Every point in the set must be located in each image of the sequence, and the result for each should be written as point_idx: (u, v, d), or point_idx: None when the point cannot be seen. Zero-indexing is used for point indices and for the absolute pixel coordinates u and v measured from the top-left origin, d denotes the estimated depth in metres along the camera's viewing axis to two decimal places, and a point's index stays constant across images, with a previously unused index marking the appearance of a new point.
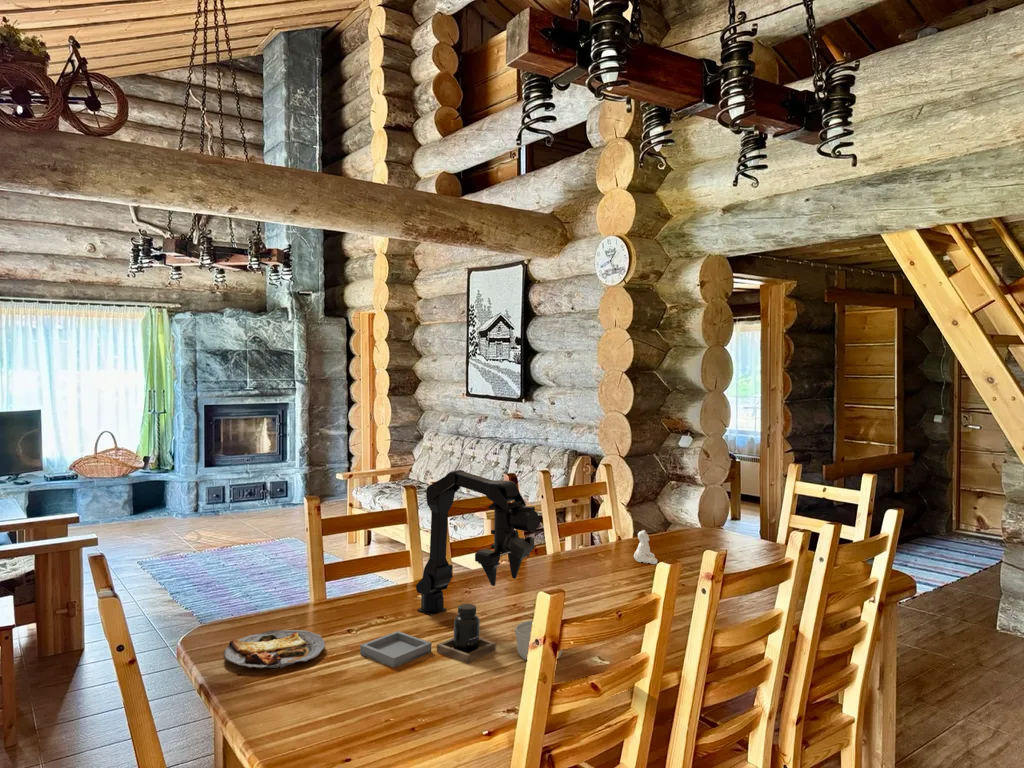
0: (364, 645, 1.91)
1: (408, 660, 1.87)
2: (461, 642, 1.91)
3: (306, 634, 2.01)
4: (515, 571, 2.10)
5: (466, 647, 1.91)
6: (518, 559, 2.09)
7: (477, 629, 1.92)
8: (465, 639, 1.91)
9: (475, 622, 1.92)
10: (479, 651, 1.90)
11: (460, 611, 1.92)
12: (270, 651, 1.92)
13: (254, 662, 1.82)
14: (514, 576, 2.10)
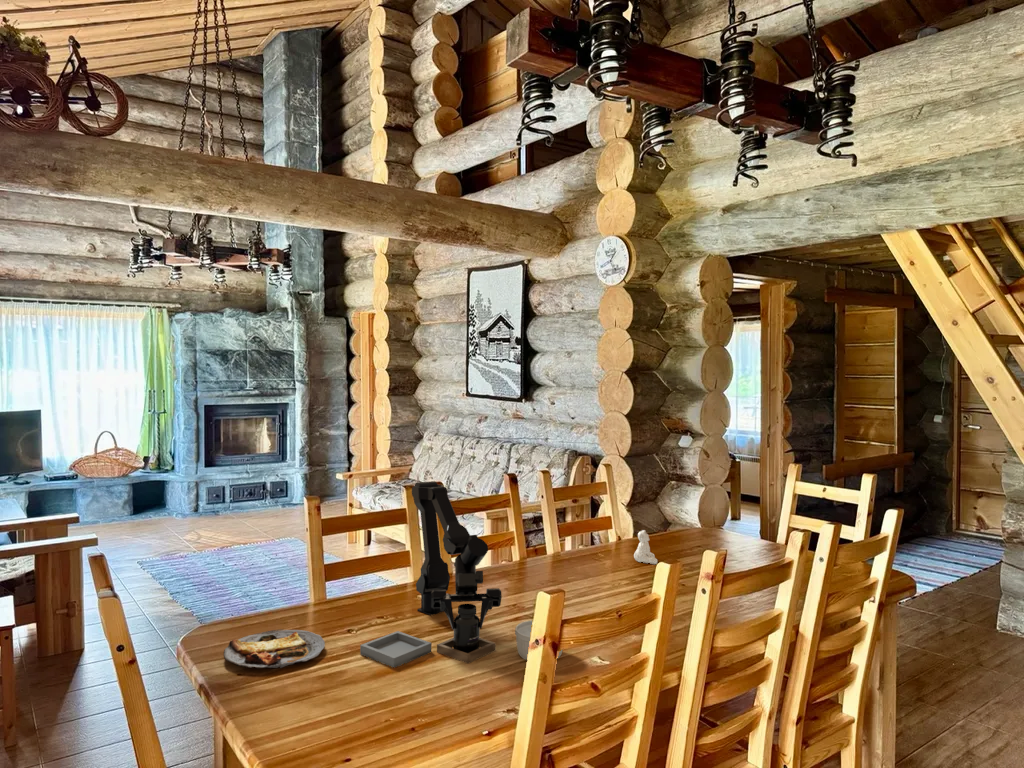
0: (364, 645, 1.91)
1: (408, 660, 1.87)
2: (461, 642, 1.91)
3: (306, 634, 2.01)
4: (480, 619, 1.94)
5: (466, 647, 1.91)
6: (481, 606, 1.96)
7: (477, 629, 1.92)
8: (465, 638, 1.91)
9: (475, 621, 1.92)
10: (479, 651, 1.90)
11: (460, 611, 1.92)
12: (270, 651, 1.92)
13: (254, 662, 1.82)
14: None
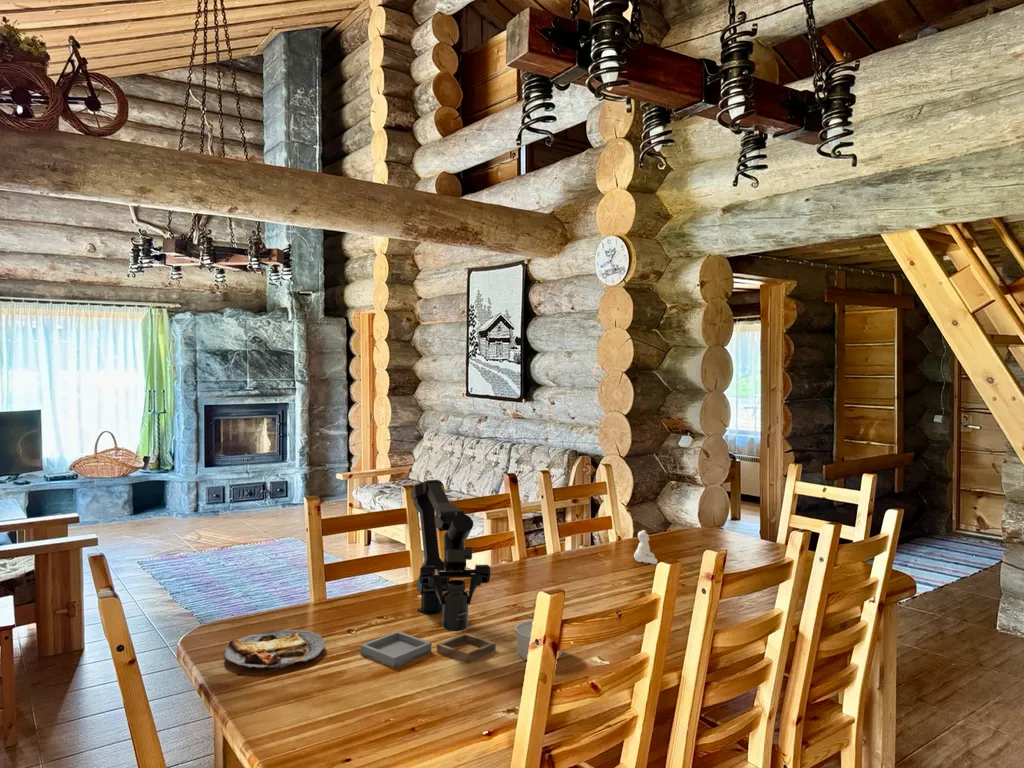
0: (364, 645, 1.91)
1: (408, 660, 1.87)
2: (450, 618, 1.91)
3: (306, 634, 2.01)
4: None
5: (454, 623, 1.91)
6: (470, 582, 1.96)
7: (466, 605, 1.92)
8: (453, 614, 1.90)
9: (464, 597, 1.91)
10: (479, 651, 1.90)
11: (449, 587, 1.92)
12: (270, 651, 1.92)
13: (254, 662, 1.82)
14: (468, 601, 1.93)
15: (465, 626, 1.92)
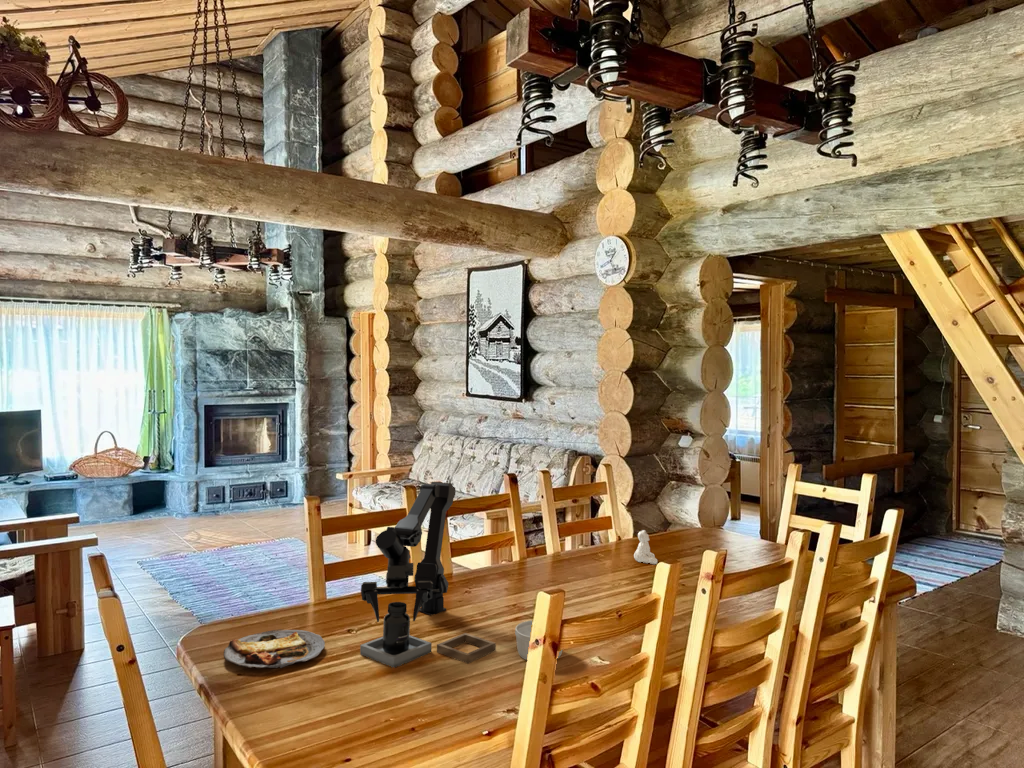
0: (364, 645, 1.91)
1: (408, 660, 1.87)
2: (390, 641, 1.89)
3: (306, 634, 2.01)
4: (413, 612, 1.92)
5: (394, 646, 1.89)
6: None
7: (406, 628, 1.91)
8: (393, 637, 1.89)
9: (404, 620, 1.90)
10: (479, 651, 1.90)
11: (389, 609, 1.90)
12: (270, 651, 1.92)
13: (254, 662, 1.82)
14: (413, 617, 1.91)
15: (405, 649, 1.91)
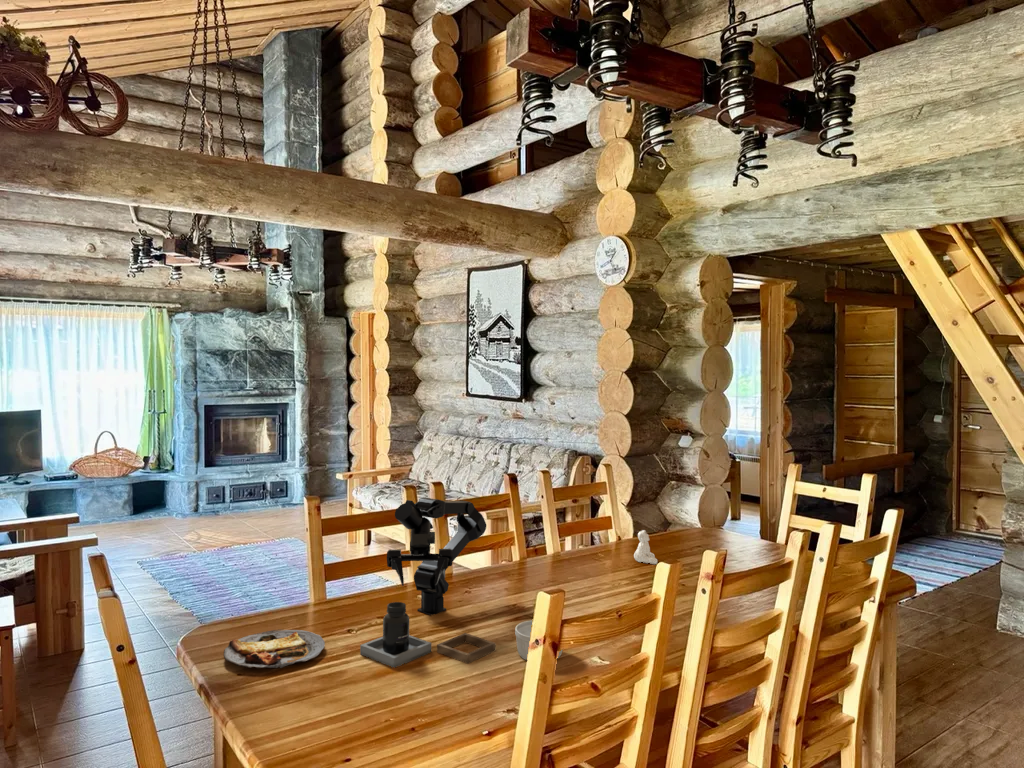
0: (364, 645, 1.91)
1: (408, 660, 1.87)
2: (389, 641, 1.89)
3: (306, 634, 2.01)
4: None
5: (394, 646, 1.89)
6: (437, 564, 2.10)
7: (406, 627, 1.91)
8: (393, 637, 1.89)
9: (403, 620, 1.90)
10: (479, 651, 1.90)
11: (389, 609, 1.90)
12: (270, 651, 1.92)
13: (254, 662, 1.82)
14: (435, 582, 2.07)
15: (405, 649, 1.91)
